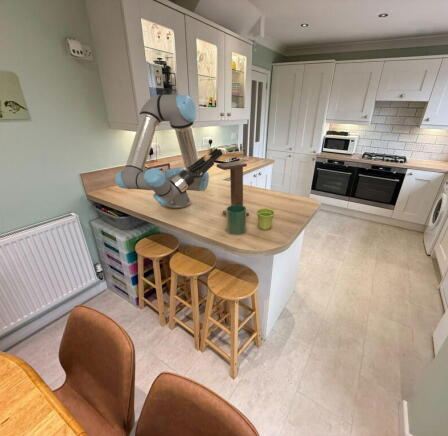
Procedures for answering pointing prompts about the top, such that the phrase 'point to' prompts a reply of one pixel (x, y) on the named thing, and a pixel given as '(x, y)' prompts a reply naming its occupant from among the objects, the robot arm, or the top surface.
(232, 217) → the utensil pot
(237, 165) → the brown wooden stand
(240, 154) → the stick
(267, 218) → the plant pot
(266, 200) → the top surface
